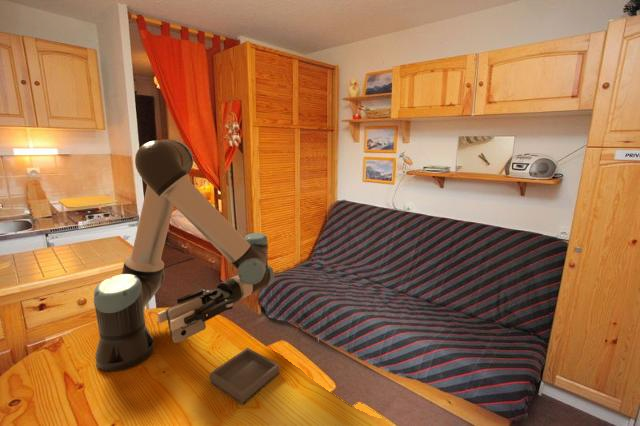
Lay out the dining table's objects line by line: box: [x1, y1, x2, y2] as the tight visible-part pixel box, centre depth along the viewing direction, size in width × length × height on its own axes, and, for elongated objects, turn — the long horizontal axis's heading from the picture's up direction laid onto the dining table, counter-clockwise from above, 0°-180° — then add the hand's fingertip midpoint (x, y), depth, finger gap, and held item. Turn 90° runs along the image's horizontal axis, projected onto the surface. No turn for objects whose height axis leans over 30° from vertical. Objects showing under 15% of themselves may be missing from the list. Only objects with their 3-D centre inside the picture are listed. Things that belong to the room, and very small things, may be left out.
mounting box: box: [209, 347, 280, 406], centre depth 90 cm, size 13×14×3 cm
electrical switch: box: [165, 298, 207, 344], centre depth 89 cm, size 9×5×9 cm, turn 142°
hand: (165, 322), depth 85 cm, fingers closed on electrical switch, 5 cm apart
